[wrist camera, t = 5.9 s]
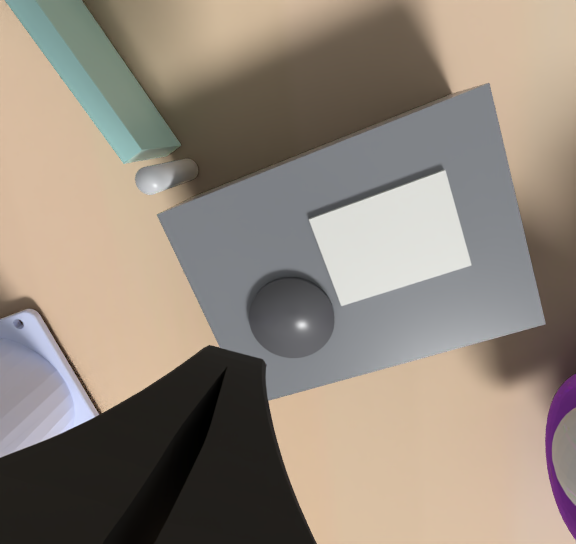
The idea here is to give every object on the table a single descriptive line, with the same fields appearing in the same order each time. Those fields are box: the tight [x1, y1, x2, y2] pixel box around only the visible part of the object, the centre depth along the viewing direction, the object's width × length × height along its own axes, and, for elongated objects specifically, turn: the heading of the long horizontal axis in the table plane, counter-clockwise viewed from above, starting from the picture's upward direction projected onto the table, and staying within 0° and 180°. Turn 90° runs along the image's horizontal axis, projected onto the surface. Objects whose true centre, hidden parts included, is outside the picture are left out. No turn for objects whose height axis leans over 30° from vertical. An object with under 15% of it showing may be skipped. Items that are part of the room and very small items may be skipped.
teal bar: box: [5, 0, 198, 195], centre depth 15 cm, size 10×2×4 cm, turn 33°
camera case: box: [157, 83, 546, 401], centre depth 16 cm, size 11×8×4 cm
